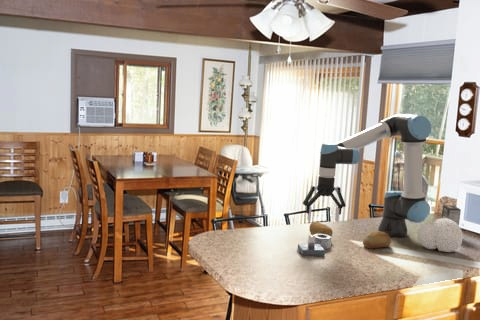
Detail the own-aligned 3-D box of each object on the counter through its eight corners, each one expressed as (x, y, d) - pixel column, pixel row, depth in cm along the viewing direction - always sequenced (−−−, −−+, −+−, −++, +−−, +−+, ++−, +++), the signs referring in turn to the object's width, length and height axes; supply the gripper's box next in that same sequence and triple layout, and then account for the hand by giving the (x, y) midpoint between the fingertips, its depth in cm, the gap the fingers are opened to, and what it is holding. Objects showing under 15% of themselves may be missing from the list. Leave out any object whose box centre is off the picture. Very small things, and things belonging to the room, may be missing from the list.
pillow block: (318, 250, 220) (319, 233, 219) (324, 256, 211) (325, 239, 210) (297, 249, 219) (298, 233, 218) (302, 256, 210) (303, 239, 209)
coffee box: (439, 233, 261) (442, 204, 258) (450, 233, 261) (454, 205, 258) (445, 238, 252) (449, 208, 249) (458, 238, 251) (461, 209, 249)
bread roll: (396, 249, 229) (397, 233, 227) (371, 251, 222) (372, 235, 221) (382, 243, 237) (384, 227, 236) (358, 245, 231) (359, 229, 230)
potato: (322, 244, 229) (323, 228, 228) (304, 236, 241) (305, 221, 240) (337, 242, 234) (338, 226, 233) (319, 234, 246) (320, 219, 245)
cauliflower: (466, 231, 234) (453, 207, 228) (470, 257, 220) (456, 232, 214) (425, 241, 244) (412, 218, 238) (427, 266, 230) (413, 243, 224)
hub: (326, 243, 231) (327, 233, 230) (332, 249, 223) (332, 238, 222) (310, 243, 229) (311, 233, 229) (315, 249, 222) (316, 238, 221)
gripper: (349, 176, 227) (345, 219, 230) (298, 173, 224) (295, 217, 226) (355, 178, 220) (350, 223, 222) (302, 176, 216) (299, 221, 219)
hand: (322, 220), depth 224 cm, fingers open, 13 cm apart
